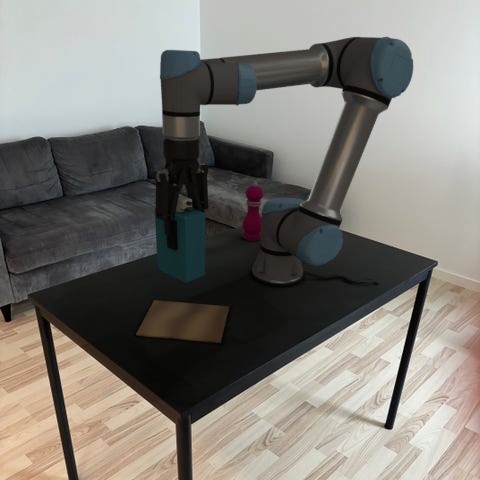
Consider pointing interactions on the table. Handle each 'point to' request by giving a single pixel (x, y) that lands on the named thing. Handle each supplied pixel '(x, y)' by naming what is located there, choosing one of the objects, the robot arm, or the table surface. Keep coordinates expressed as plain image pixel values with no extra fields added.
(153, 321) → the cork mat
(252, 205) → the pepper mill
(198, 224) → the teal box
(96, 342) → the table surface
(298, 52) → the robot arm
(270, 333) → the table surface
